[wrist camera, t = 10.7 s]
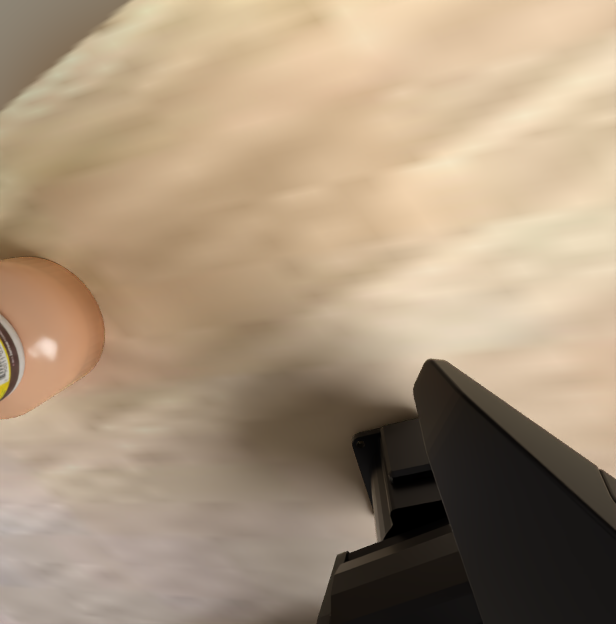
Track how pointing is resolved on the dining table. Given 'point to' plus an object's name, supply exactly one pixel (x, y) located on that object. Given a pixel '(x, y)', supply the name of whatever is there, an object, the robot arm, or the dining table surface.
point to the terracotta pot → (48, 329)
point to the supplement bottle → (10, 359)
